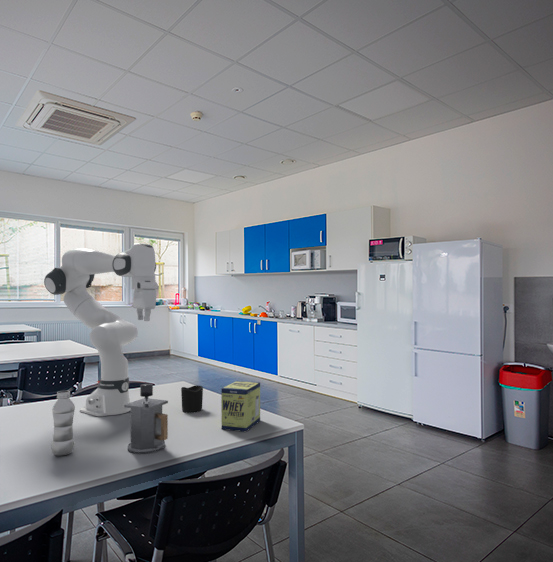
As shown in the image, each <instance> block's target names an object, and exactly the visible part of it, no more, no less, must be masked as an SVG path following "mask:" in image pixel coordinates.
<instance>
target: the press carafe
mask: <svg viewBox="0 0 553 562" xmlns="http://www.w3.org/2000/svg"><path fill="white" fill-rule="evenodd" d="M166 404H169V400H165V399H157V398H156V399H155V398H149V397H148V404H145V397H143V398H141V399H138V400H135V401H130V403H128V404H125V405H124V407H126V408H131V411H130V442H129V443H128V444H127V451H128V452H129V453H132V454H137V455H138V454H139V455H142V454H143V455H145V454H151V453H154V452H156V453H157V452H158V451H161V450H162V449H164V448H165V447H164V446H165V445H166V442H165V441H166V440H168V438H169V437H168V436H169V434H168V427H169V426H168V424H169V423H168V420H169V418H168V416H169V415H168V414H167V413H163V405H166Z"/></svg>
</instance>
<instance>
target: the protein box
mask: <svg viewBox="0 0 553 562" xmlns="http://www.w3.org/2000/svg"><path fill="white" fill-rule="evenodd" d="M220 397H221V399H220V400H221V402H220V403H221V408H220V409H221V430H226V429H230V430H229V431H235V430H240V431H239V432H244V431H247V430H248V429H249V430H251V428H253V427H254V426H255V425H257V424H258V423H259V422H260V421H261V382H259V381H258V382H257V381H247V380H245V381H244V380H236V381H234V382H232V383H230V384H228V385H225V386H224V387H222V388H221V395H220ZM257 422H258V423H257ZM253 425H254V426H253ZM252 426H253V427H252ZM249 430H248V431H249ZM248 431H247V432H248Z"/></svg>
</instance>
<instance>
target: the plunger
mask: <svg viewBox="0 0 553 562" xmlns="http://www.w3.org/2000/svg"><path fill="white" fill-rule="evenodd" d="M153 386H154V384H153V383H143V384H140V387H139V388H140V389H139V392H140V393H139V394H140V397H143V398H145V404H148V398H149V397H153V395H154V394H153V393H154V390H153V388H154V387H153Z"/></svg>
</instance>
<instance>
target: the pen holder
mask: <svg viewBox="0 0 553 562" xmlns="http://www.w3.org/2000/svg"><path fill="white" fill-rule="evenodd" d="M180 391H181V410H182V412H183V413H186V412H187V414H194V412H195V413H199V412H201V411H202V410H203V397H204V396H203V394H204V387H203V386H202V385H197V384H196V385H192V386H190V387H185V386H183V387H181V389H180Z"/></svg>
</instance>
